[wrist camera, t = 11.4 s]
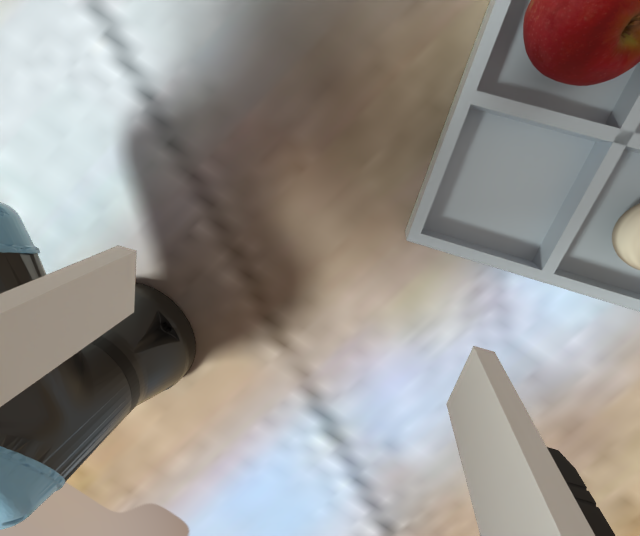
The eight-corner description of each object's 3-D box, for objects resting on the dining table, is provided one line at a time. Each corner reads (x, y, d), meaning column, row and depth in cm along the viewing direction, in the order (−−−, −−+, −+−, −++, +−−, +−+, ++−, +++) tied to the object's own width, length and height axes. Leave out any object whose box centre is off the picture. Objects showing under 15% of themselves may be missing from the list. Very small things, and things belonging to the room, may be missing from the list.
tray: (405, 230, 36) (406, 240, 33) (520, -83, 26) (538, -113, 23) (659, 308, 34) (687, 326, 31) (884, -2, 24) (959, -23, 21)
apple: (515, 106, 30) (556, 95, 22) (505, -5, 27) (547, -58, 20) (622, 76, 28) (706, 54, 20) (621, -47, 25) (715, -122, 18)
